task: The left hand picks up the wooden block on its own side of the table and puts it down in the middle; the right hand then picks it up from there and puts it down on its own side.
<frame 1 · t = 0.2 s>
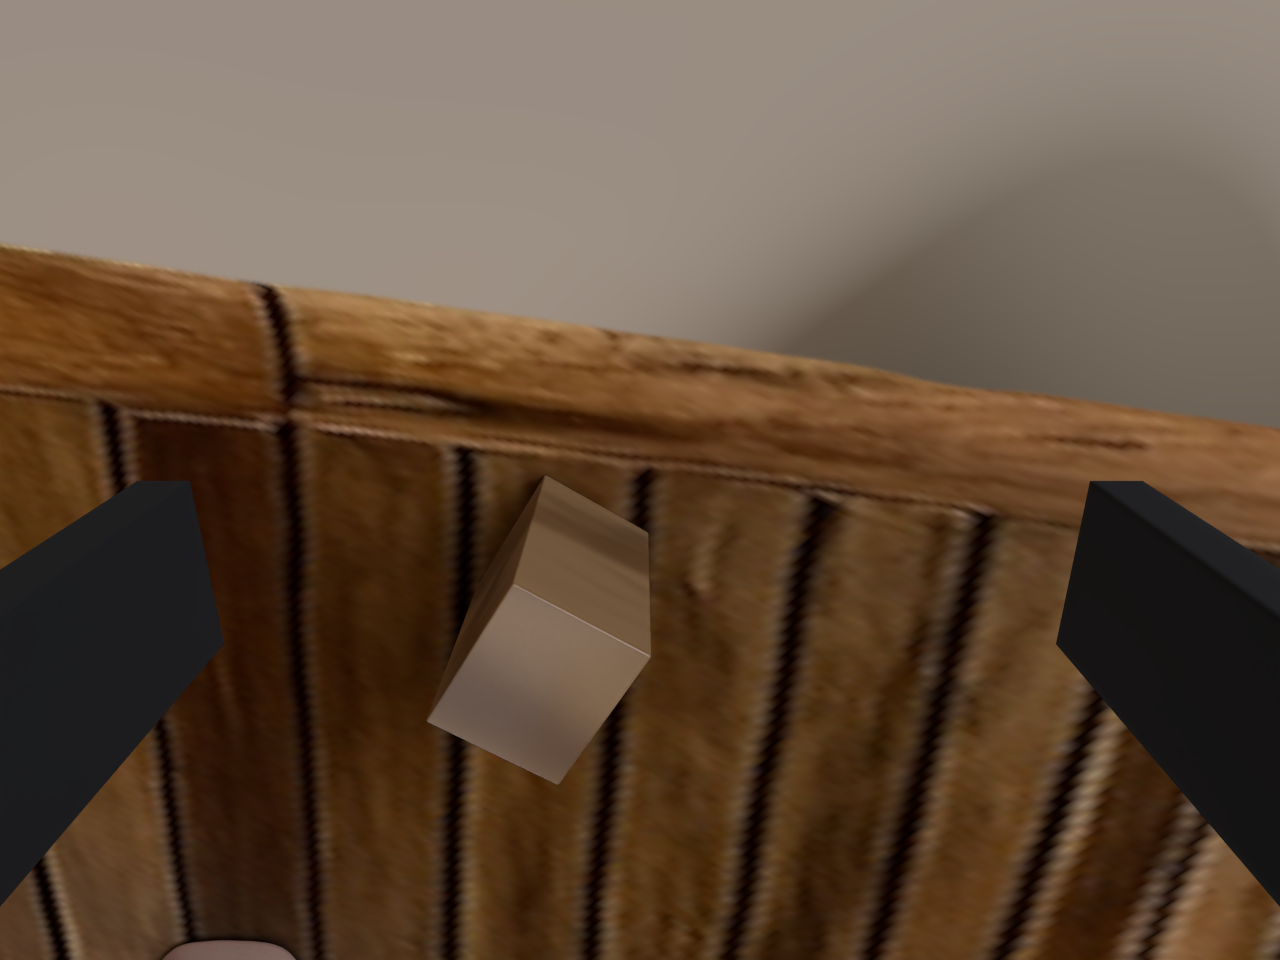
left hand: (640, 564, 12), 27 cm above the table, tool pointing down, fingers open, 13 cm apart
block: (562, 558, 42), on the table
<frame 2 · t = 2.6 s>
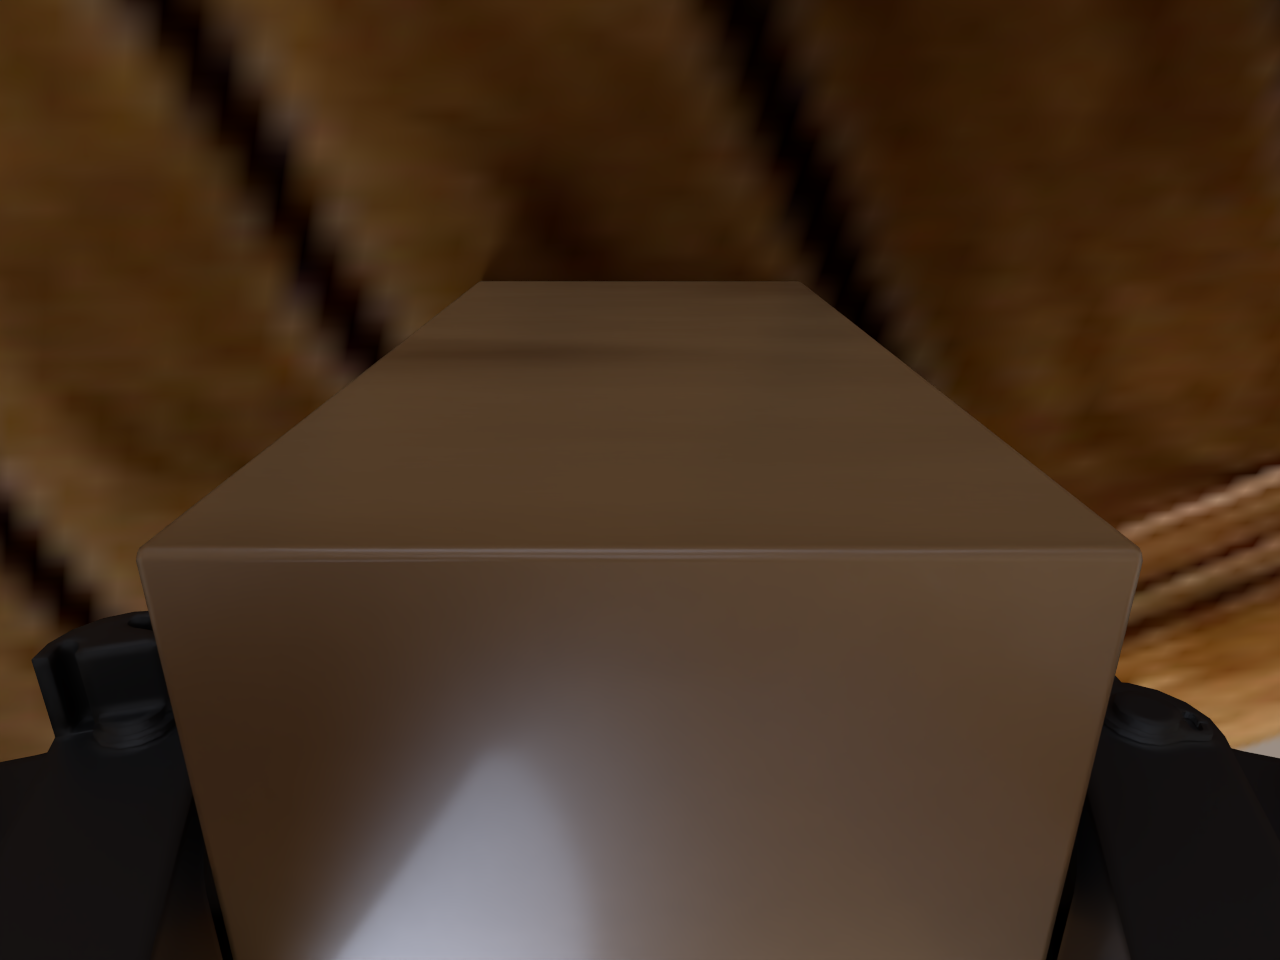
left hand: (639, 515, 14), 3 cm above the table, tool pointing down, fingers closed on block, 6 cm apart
block: (639, 463, 17), on the table, touching left hand
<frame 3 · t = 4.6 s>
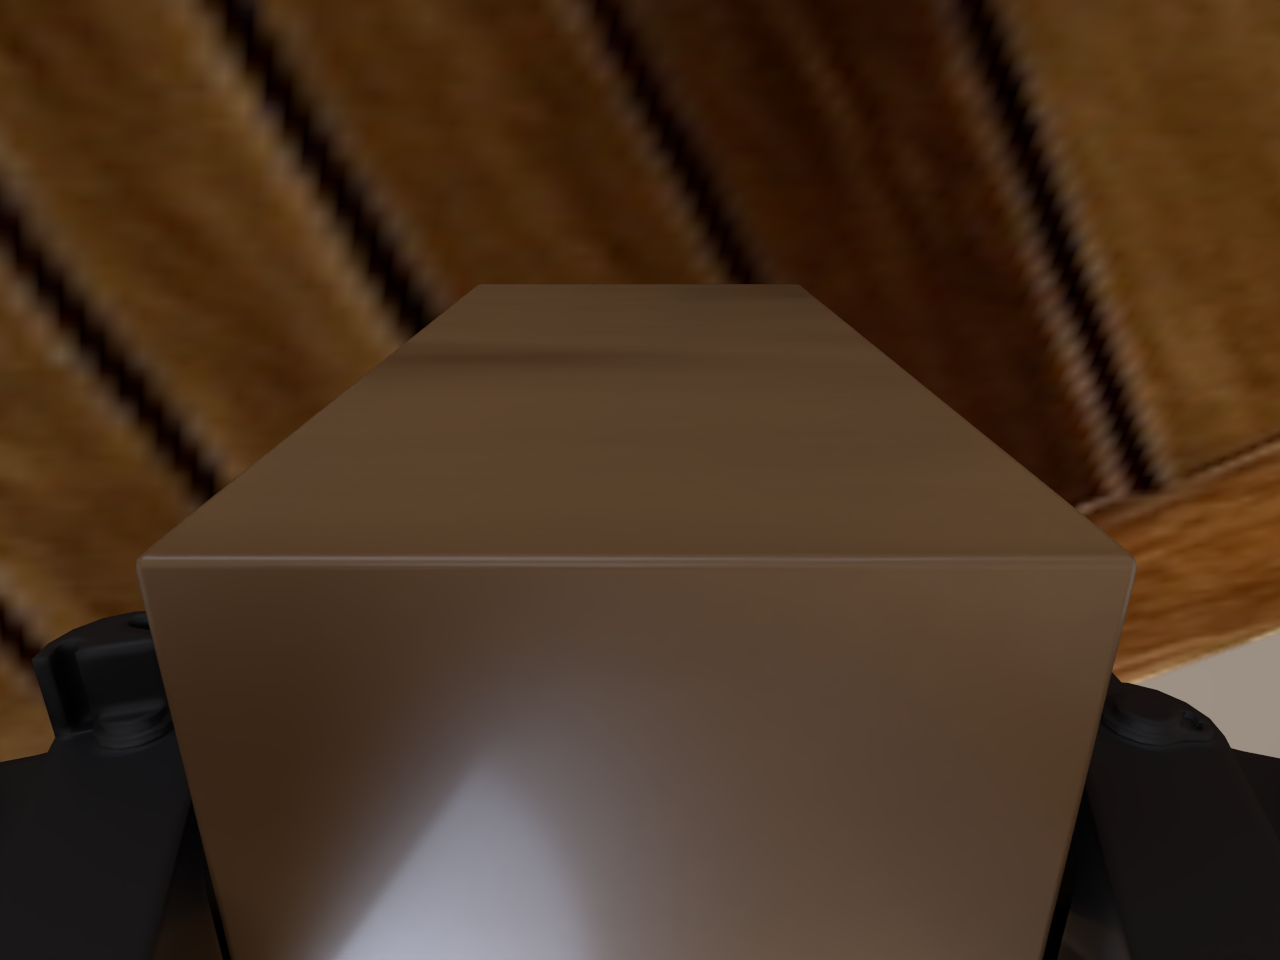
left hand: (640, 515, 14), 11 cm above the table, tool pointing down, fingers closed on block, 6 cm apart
block: (638, 465, 17), point 8 cm above the table, touching left hand
when the left hand's fingers open (4 cm above the table, at t = 6.7 s): block drops 2 cm, on the table.
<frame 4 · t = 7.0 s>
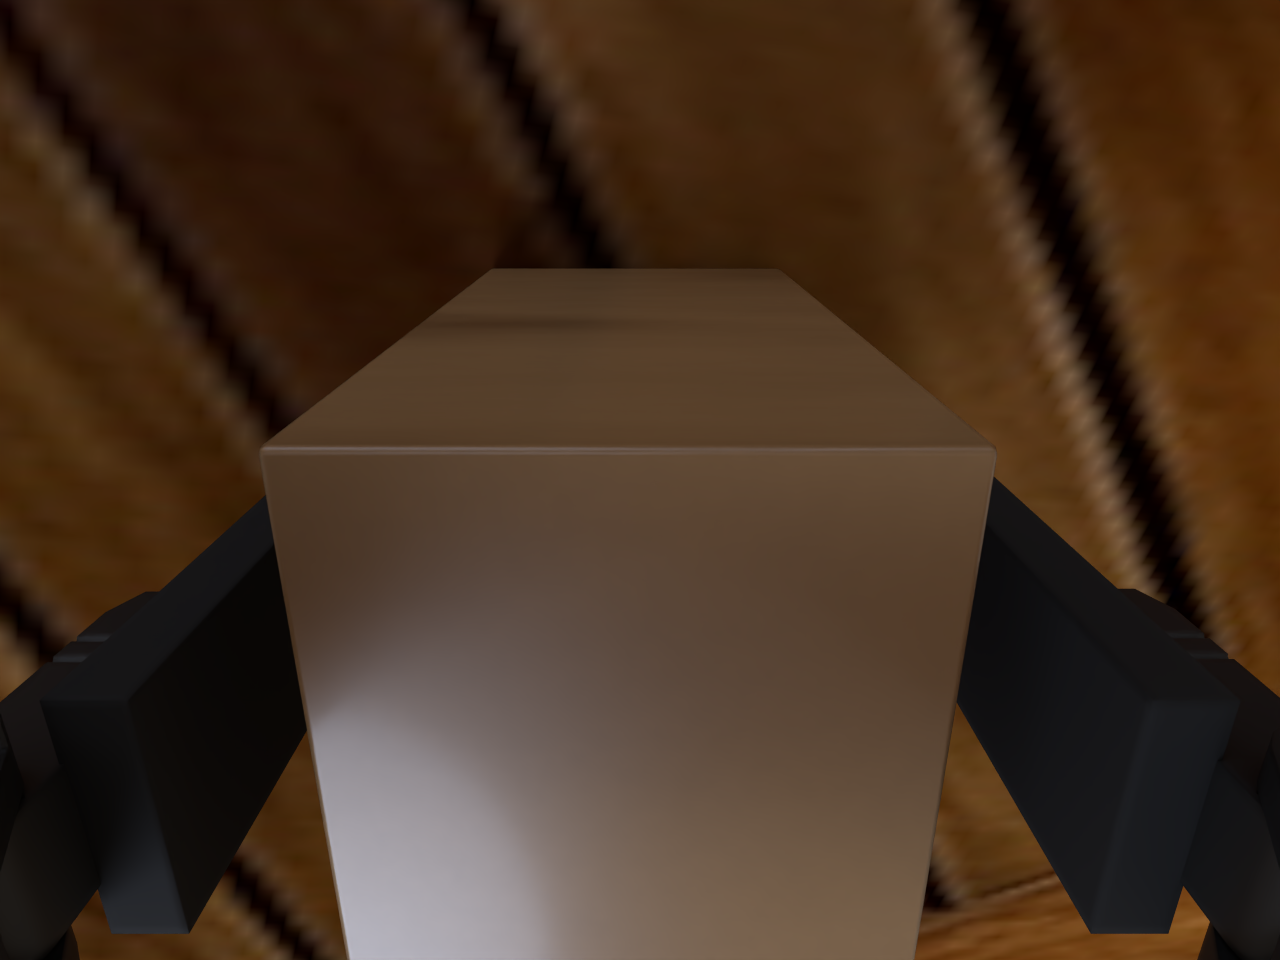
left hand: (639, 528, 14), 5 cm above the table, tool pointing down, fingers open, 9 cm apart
block: (635, 433, 18), on the table
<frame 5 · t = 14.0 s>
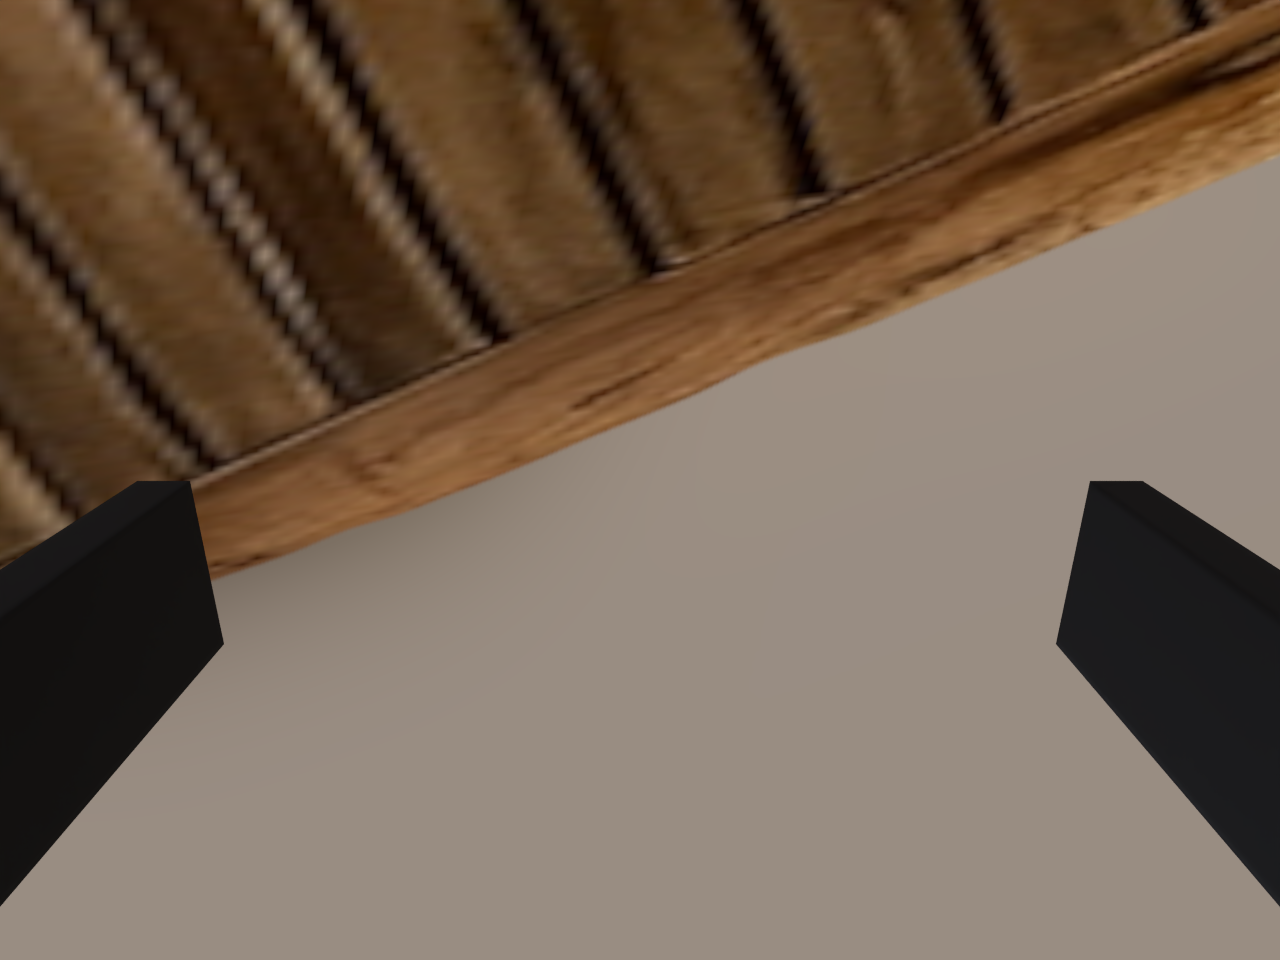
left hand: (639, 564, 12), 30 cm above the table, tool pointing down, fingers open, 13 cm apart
when the right hand's fingers open (4 cm above the table, at t = 19.2 s): block drops 2 cm, on the table.
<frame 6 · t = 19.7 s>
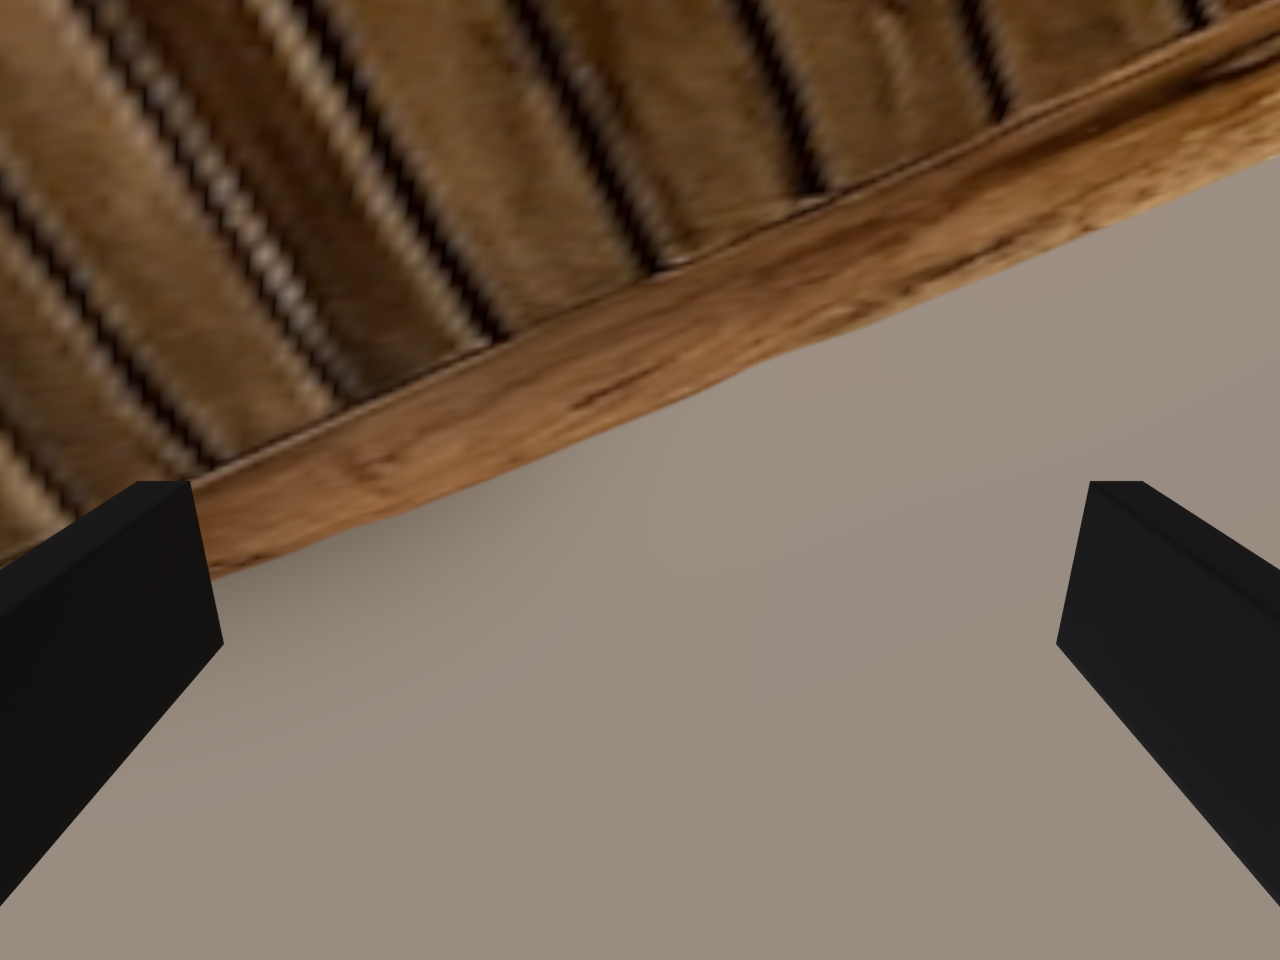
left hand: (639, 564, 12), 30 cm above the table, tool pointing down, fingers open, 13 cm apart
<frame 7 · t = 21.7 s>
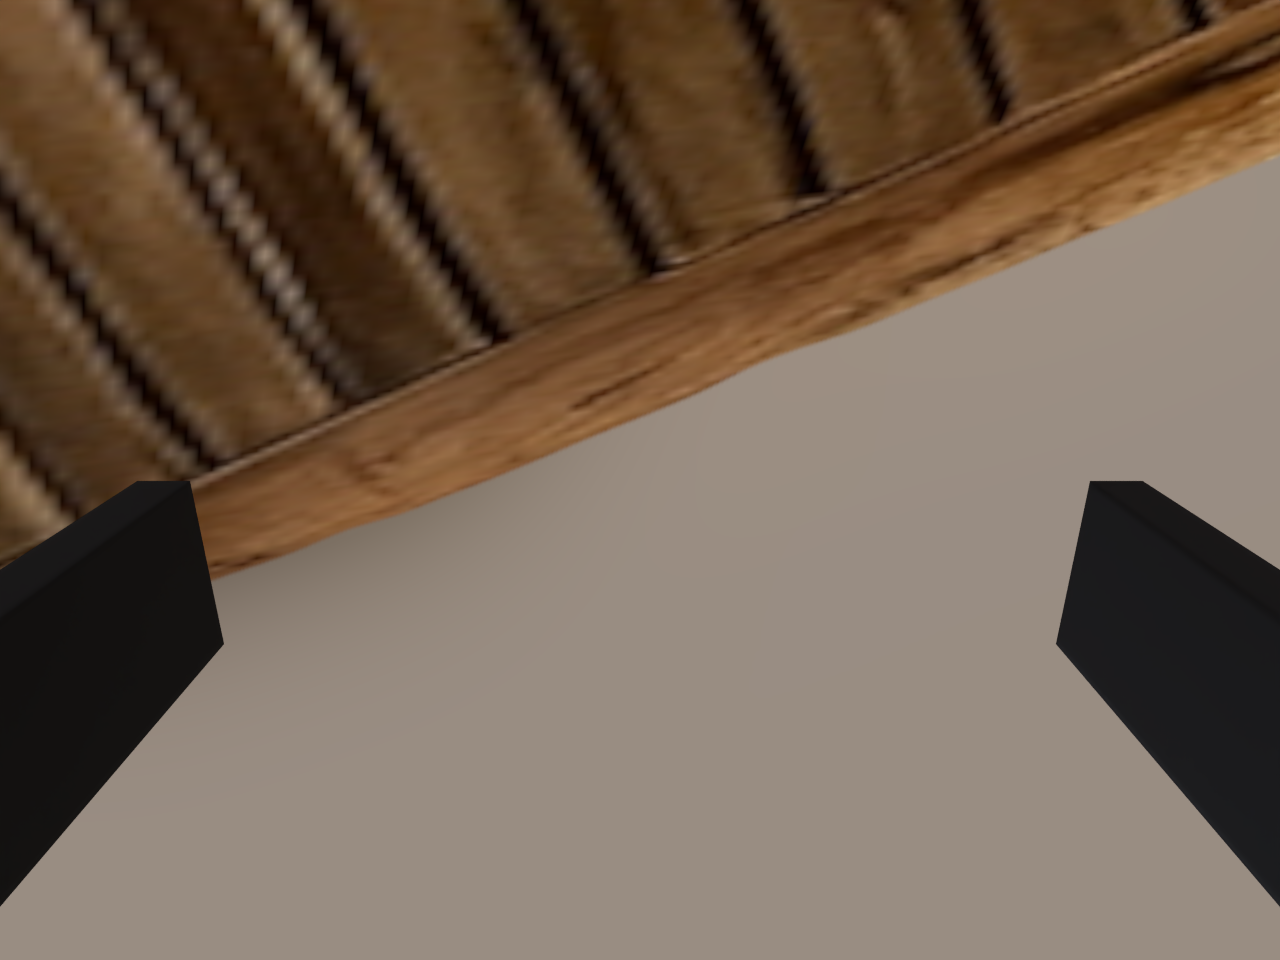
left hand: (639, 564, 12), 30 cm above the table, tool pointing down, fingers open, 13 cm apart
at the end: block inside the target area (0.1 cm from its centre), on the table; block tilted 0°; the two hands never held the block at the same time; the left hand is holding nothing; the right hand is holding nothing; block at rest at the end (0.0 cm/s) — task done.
